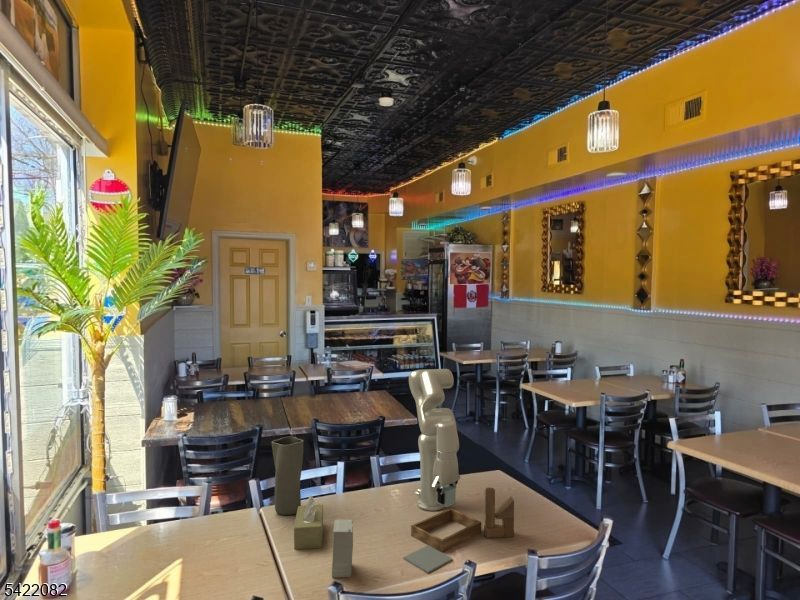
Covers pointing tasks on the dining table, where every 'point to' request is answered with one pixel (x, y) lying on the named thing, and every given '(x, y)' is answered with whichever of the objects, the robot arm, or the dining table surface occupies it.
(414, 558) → the mat
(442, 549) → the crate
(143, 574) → the dining table surface
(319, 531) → the tissue box
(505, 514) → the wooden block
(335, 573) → the skincare box
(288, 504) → the vase
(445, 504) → the block
